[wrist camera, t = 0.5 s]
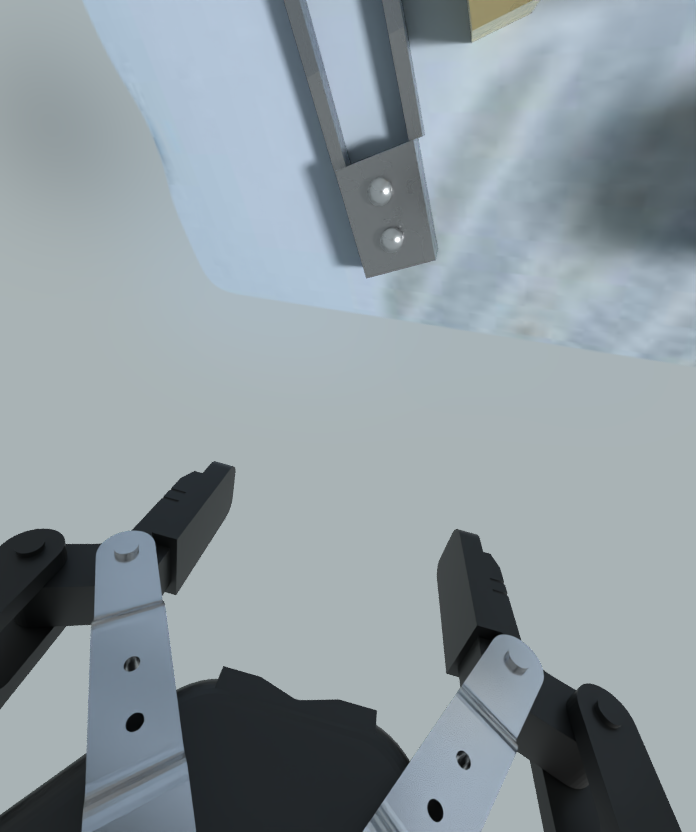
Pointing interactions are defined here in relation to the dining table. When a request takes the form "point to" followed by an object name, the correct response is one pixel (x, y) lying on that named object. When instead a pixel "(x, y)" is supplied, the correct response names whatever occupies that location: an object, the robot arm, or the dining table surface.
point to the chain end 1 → (306, 34)
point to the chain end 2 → (383, 179)
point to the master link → (496, 14)
